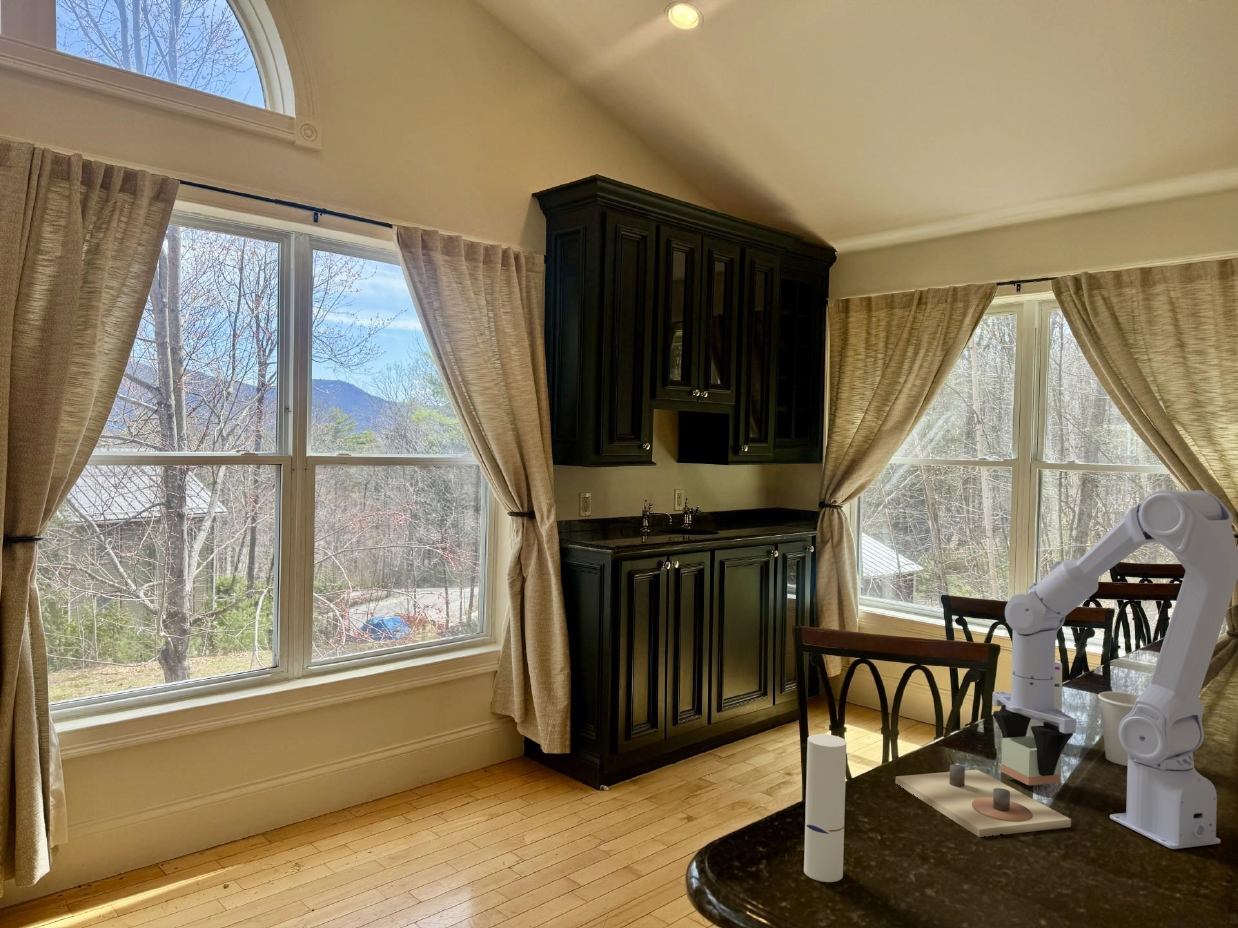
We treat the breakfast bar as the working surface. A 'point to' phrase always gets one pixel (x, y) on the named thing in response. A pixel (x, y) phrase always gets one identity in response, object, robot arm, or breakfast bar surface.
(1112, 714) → the dixie cup
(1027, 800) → the pin board
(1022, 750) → the sleeve
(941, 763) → the breakfast bar surface
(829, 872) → the tube
